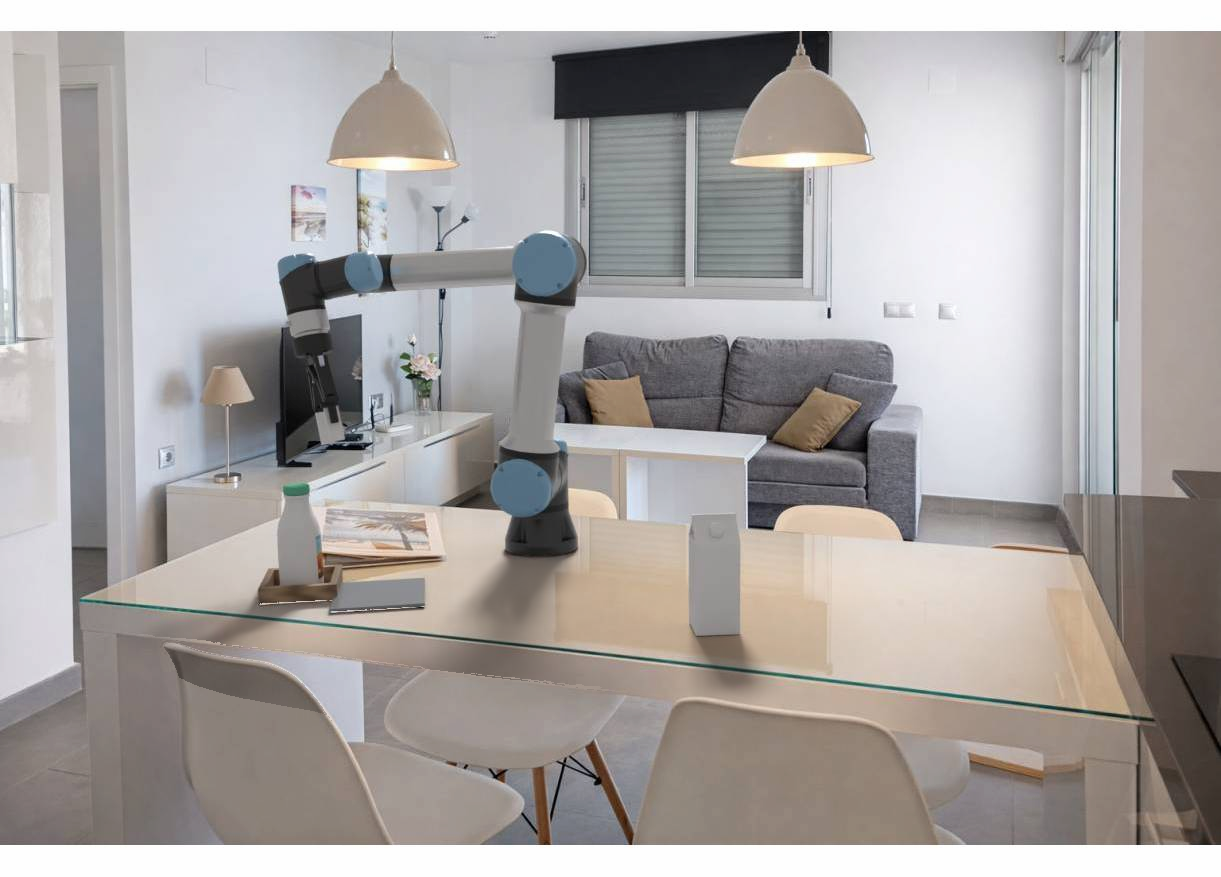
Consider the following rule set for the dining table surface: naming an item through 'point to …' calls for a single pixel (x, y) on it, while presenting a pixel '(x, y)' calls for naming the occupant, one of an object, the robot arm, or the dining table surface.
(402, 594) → the trivet
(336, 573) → the tray
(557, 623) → the dining table surface
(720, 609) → the milk carton
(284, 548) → the milk bottle
